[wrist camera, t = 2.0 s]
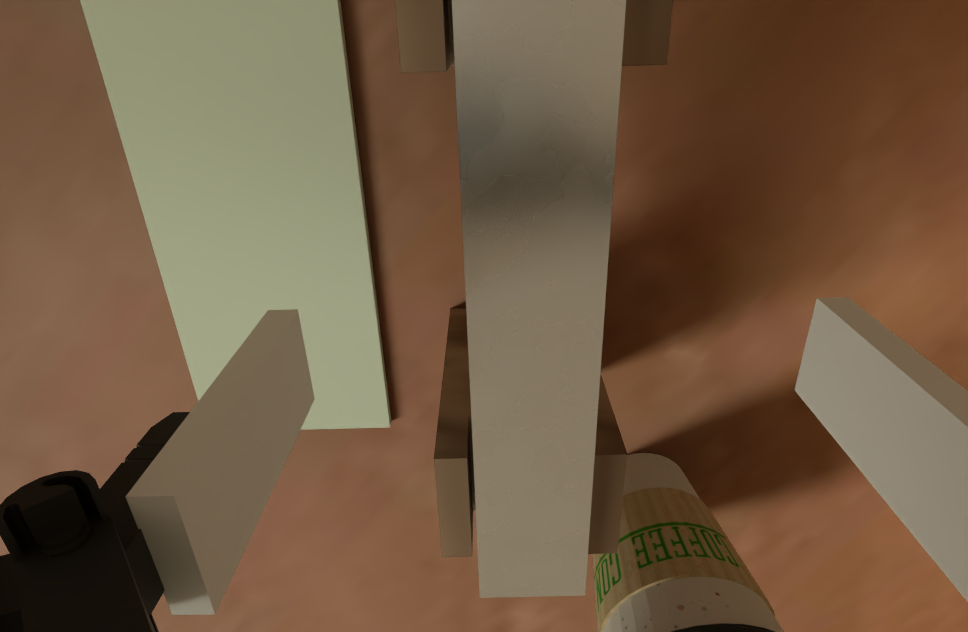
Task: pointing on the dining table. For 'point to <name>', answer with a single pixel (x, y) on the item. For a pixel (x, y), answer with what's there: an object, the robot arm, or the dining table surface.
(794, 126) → the dining table surface
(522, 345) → the rail
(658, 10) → the post
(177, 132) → the mat
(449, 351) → the post
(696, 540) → the coffee cup
